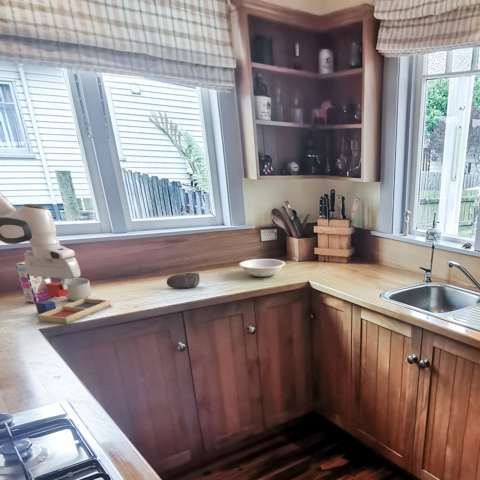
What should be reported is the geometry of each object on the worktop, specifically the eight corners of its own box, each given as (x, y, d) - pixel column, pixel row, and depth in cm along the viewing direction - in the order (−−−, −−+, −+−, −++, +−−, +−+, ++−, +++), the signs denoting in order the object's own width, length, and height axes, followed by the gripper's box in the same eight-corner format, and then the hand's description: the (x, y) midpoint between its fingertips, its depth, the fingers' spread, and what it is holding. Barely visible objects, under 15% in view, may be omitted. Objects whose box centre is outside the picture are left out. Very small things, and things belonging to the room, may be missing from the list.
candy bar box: (36, 303, 196) (25, 264, 188) (25, 302, 196) (14, 263, 189) (56, 296, 206) (46, 258, 199) (46, 295, 206) (35, 258, 199)
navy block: (38, 314, 183) (34, 303, 181) (47, 310, 187) (44, 300, 185) (48, 315, 183) (45, 304, 181) (57, 311, 187) (54, 300, 185)
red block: (48, 296, 174) (45, 284, 172) (58, 293, 178) (55, 281, 177) (59, 297, 174) (56, 285, 172) (68, 294, 178) (65, 282, 176)
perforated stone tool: (167, 290, 219) (164, 275, 216) (168, 287, 224) (165, 272, 221) (200, 288, 224) (198, 274, 221) (200, 285, 228) (198, 271, 225)
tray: (38, 321, 176) (37, 315, 175) (85, 303, 197) (84, 298, 196) (66, 324, 174) (65, 317, 173) (111, 306, 195) (109, 300, 194)
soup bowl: (270, 268, 265) (270, 257, 263) (294, 276, 250) (293, 264, 247) (232, 274, 251) (230, 262, 248) (254, 283, 235) (253, 270, 232)
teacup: (95, 294, 209) (91, 277, 206) (90, 301, 200) (86, 283, 196) (60, 296, 205) (55, 278, 202) (53, 303, 196) (48, 285, 192)
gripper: (15, 251, 168) (27, 288, 174) (65, 254, 165) (75, 292, 171) (30, 248, 174) (40, 284, 180) (78, 251, 171) (87, 288, 177)
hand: (57, 288), depth 175 cm, fingers closed on red block, 4 cm apart
